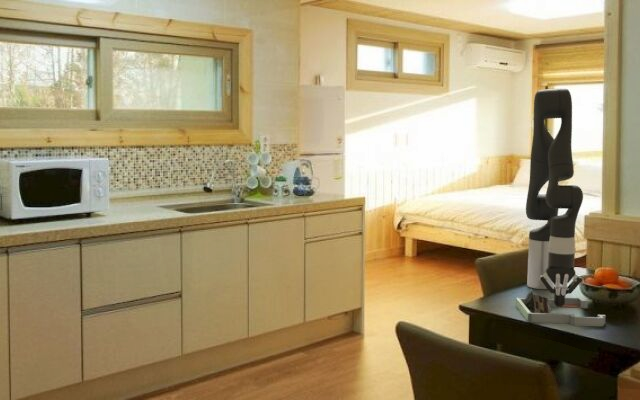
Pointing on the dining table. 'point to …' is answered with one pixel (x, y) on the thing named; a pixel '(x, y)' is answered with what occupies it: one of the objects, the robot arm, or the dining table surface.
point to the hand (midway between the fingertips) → (559, 306)
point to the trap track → (561, 317)
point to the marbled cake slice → (537, 303)
